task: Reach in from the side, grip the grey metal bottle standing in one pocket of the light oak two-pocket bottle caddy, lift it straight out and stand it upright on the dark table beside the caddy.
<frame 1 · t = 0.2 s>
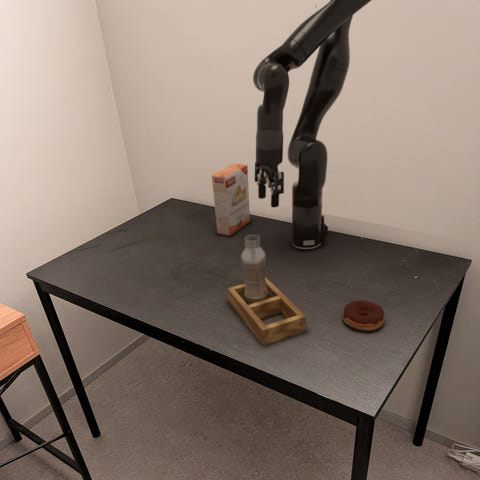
hand: (268, 202, 134), 17 cm above the table, tool pointing down, fingers open, 8 cm apart
donut: (362, 322, 112), on the table
grey metal bottle: (256, 307, 121), resting in caddy
cracker box: (234, 228, 163), on the table
caddy: (265, 316, 117), on the table
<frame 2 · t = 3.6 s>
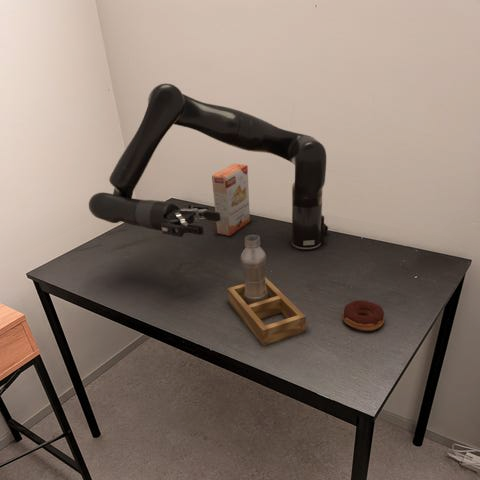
hand: (211, 223, 112), 22 cm above the table, tool horizontal, fingers open, 8 cm apart
nothing on the table moved.
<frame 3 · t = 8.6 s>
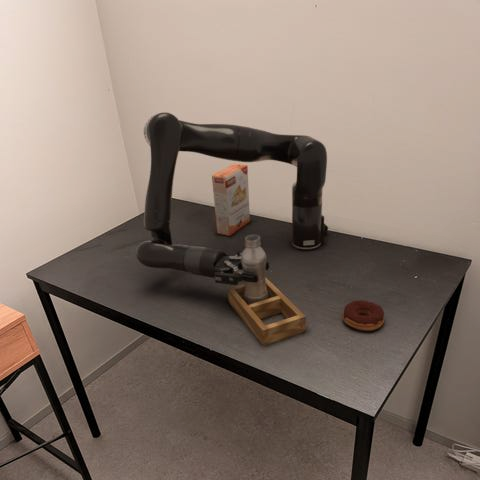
hand: (263, 272, 113), 11 cm above the table, tool horizontal, fingers closed on grey metal bottle, 6 cm apart
grey metal bottle: (256, 307, 121), resting in caddy, touching gripper
everything else where it was.
when the fingers open (11 cm above the table, at t = 17.3 s): grey metal bottle stays where it is, on the table.
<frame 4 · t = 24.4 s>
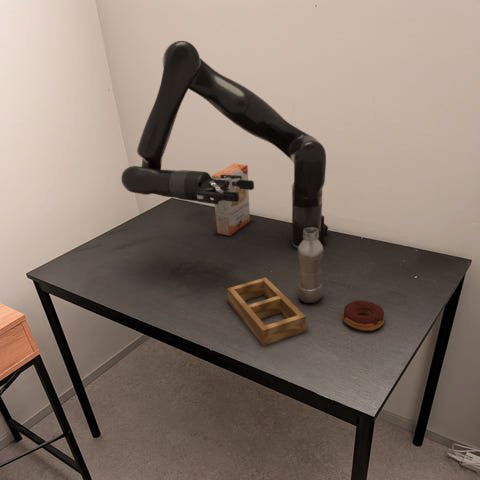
hand: (246, 191, 113), 28 cm above the table, tool horizontal, fingers open, 8 cm apart
grey metal bottle: (309, 300, 122), on the table
everything else where it was.
at the end: grey metal bottle inside the target area on the table beside the caddy (0.1 cm from its centre), on the table; grey metal bottle tilted 0°; the gripper is holding nothing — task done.
